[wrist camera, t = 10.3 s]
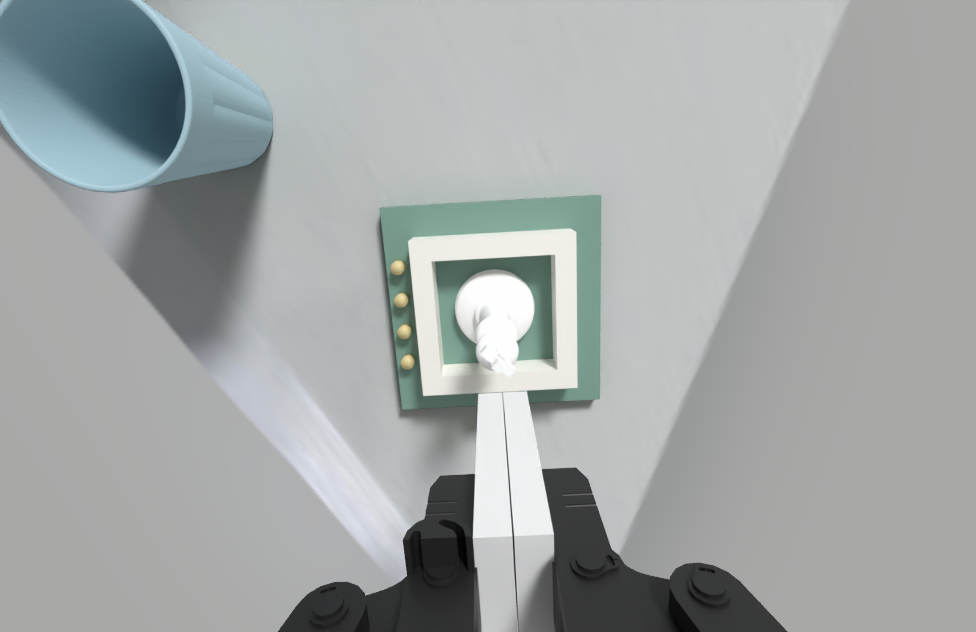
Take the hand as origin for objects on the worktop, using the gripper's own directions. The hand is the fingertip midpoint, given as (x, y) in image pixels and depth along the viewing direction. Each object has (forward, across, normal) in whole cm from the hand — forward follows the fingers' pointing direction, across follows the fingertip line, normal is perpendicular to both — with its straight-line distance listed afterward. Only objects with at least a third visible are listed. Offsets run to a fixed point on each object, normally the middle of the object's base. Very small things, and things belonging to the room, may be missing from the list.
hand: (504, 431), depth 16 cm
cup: (+17, -15, +12) cm, 25 cm away
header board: (+16, 0, 0) cm, 16 cm away
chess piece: (+16, 0, 0) cm, 16 cm away
